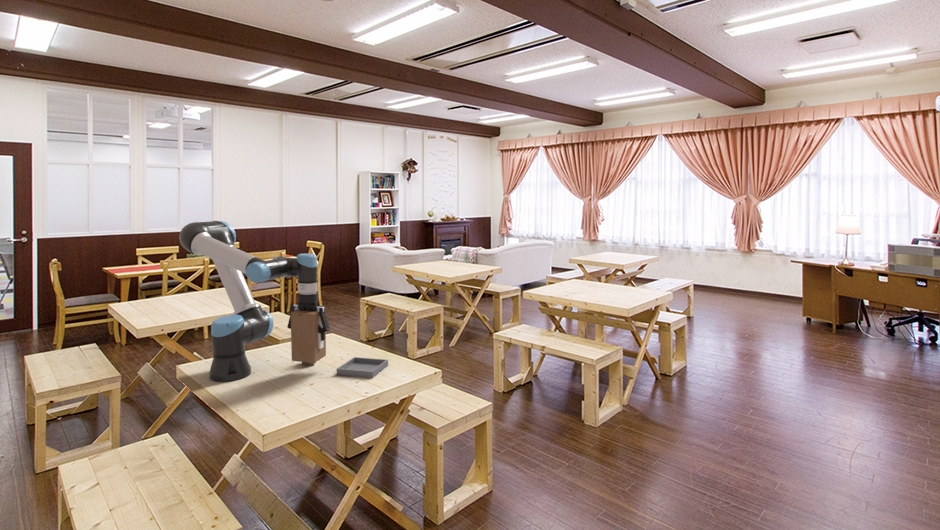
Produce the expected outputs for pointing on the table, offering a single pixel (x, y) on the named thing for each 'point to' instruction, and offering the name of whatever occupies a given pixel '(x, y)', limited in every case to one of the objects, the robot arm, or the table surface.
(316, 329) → the wooden block
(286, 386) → the table surface
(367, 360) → the tray
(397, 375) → the table surface
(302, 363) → the walnut cube
